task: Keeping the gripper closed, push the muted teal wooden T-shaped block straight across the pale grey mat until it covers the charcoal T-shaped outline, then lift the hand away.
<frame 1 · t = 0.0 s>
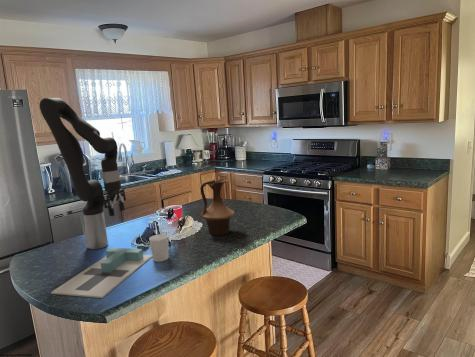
hand: (117, 213, 177), 17 cm above the worktop, tool pointing down, fingers open, 8 cm apart
t block: (117, 264, 158), point 1 cm above the worktop, touching mat
white cup: (160, 259, 162), on the worktop
pitcher: (218, 232, 192), on the worktop
mat: (106, 273, 151), on the worktop
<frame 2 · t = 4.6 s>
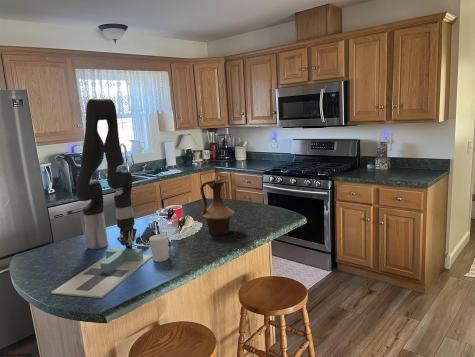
hand: (129, 252, 167), 2 cm above the worktop, tool pointing down, fingers closed
t block: (116, 264, 158), point 1 cm above the worktop, touching gripper
everything else where it was.
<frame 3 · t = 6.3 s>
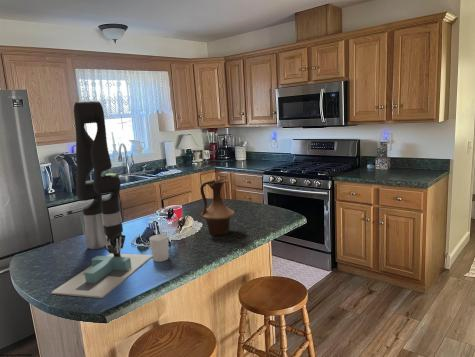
hand: (117, 260, 159), 2 cm above the worktop, tool pointing down, fingers closed
t block: (103, 273, 149), point 1 cm above the worktop, touching gripper, mat
everything else where it was.
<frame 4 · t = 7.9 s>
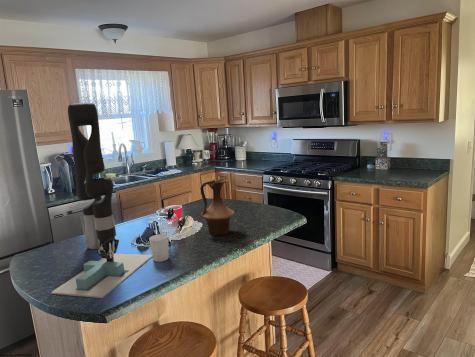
hand: (110, 265, 154), 2 cm above the worktop, tool pointing down, fingers closed
t block: (95, 279, 145), point 1 cm above the worktop, touching gripper, mat
everything else where it was.
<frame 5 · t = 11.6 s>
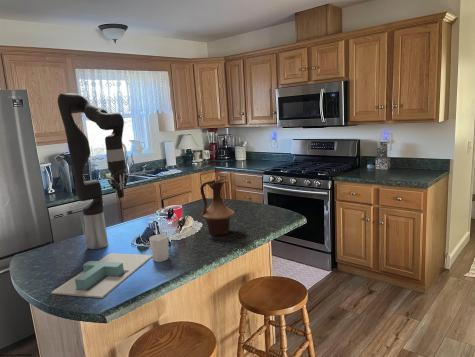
hand: (121, 197, 165), 27 cm above the worktop, tool pointing down, fingers closed
t block: (94, 279, 144), point 1 cm above the worktop, touching mat
everything else where it was.
at the end: t block 0.8 cm from the target spot on the mat, point 0.6 cm above the mat's base; t block tilted 0°; t block moved 14.6 cm from its start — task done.
